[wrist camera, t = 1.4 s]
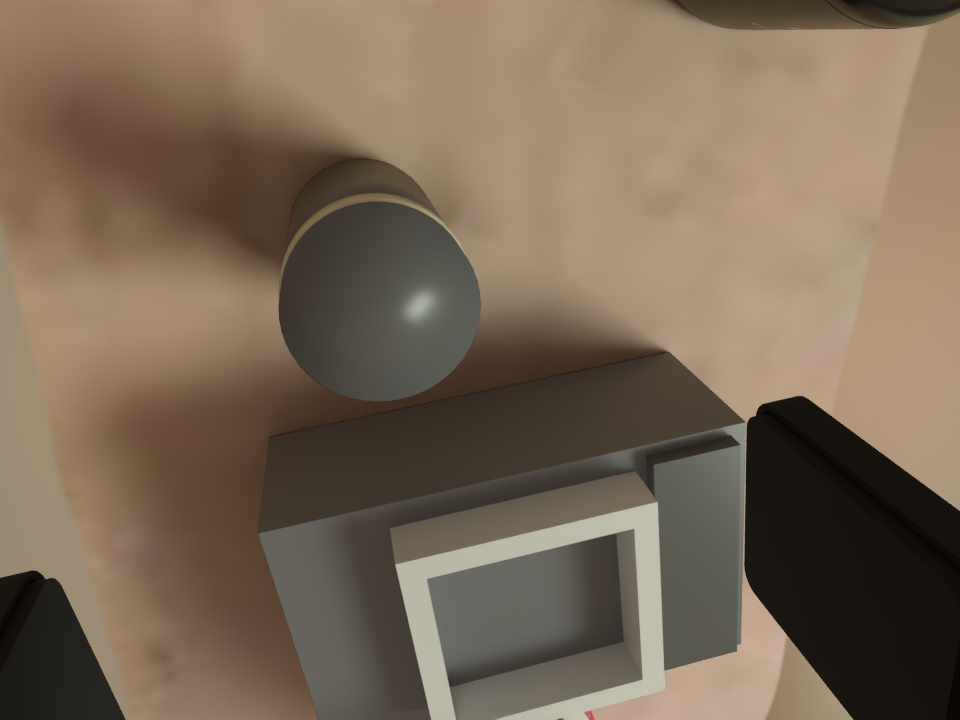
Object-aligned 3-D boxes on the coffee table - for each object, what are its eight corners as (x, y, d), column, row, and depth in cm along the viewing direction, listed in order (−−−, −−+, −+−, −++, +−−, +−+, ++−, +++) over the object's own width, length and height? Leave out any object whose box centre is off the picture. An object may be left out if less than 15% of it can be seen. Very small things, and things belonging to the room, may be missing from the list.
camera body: (327, 633, 32) (330, 799, 25) (269, 437, 28) (253, 572, 21) (674, 547, 34) (765, 679, 27) (669, 351, 30) (775, 449, 23)
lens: (271, 171, 24) (252, 231, 17) (424, 145, 25) (467, 192, 18) (307, 315, 27) (303, 421, 19) (447, 287, 27) (494, 381, 20)
